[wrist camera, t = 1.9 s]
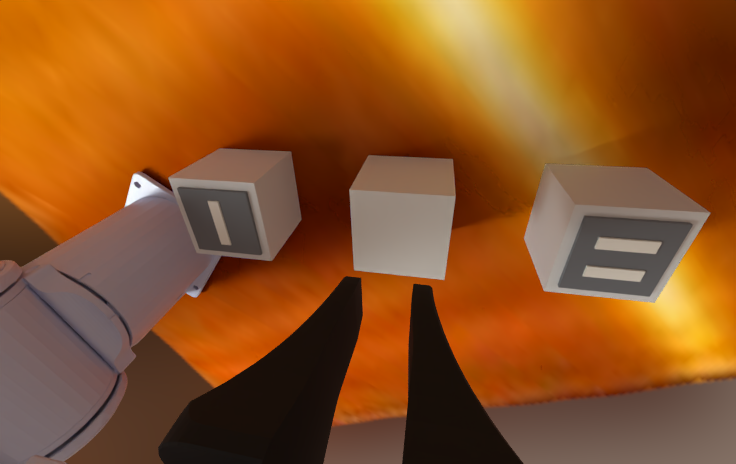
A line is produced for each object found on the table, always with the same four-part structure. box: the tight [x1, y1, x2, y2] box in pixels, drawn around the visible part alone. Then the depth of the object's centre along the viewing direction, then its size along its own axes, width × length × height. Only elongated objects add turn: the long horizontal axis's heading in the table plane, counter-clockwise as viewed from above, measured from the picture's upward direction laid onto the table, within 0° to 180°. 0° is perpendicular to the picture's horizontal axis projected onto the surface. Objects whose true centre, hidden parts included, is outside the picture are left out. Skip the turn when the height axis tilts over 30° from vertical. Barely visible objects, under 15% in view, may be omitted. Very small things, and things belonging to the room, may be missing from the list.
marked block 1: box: [168, 148, 302, 261], centre depth 20 cm, size 5×5×5 cm
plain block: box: [349, 155, 456, 280], centre depth 19 cm, size 5×5×5 cm
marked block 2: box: [524, 163, 710, 303], centre depth 17 cm, size 5×5×5 cm
